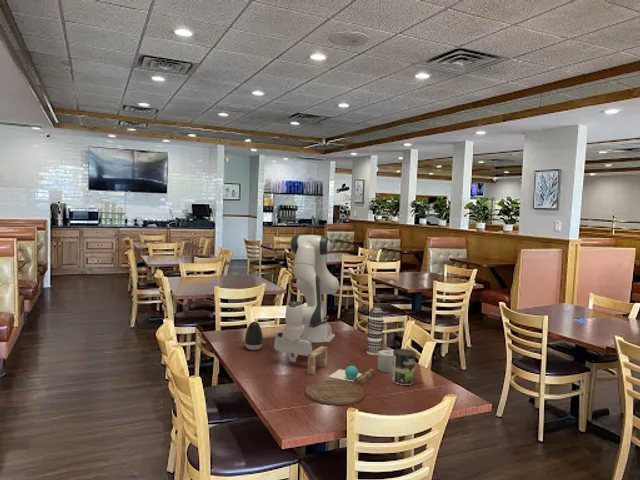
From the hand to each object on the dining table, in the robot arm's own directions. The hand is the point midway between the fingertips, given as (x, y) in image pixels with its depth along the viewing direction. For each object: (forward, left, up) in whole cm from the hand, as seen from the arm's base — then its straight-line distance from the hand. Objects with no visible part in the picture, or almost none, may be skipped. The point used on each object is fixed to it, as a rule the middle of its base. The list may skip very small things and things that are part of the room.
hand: (292, 361), depth 240 cm
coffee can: (-7, +55, -2) cm, 55 cm away
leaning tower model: (-42, +28, -2) cm, 51 cm away
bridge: (0, +14, -2) cm, 14 cm away
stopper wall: (0, +39, -2) cm, 39 cm away
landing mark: (0, +29, -2) cm, 29 cm away
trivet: (+23, +34, -2) cm, 41 cm away
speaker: (-11, -31, -2) cm, 33 cm away
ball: (+2, +33, +1) cm, 33 cm away
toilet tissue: (-19, +44, -2) cm, 48 cm away
